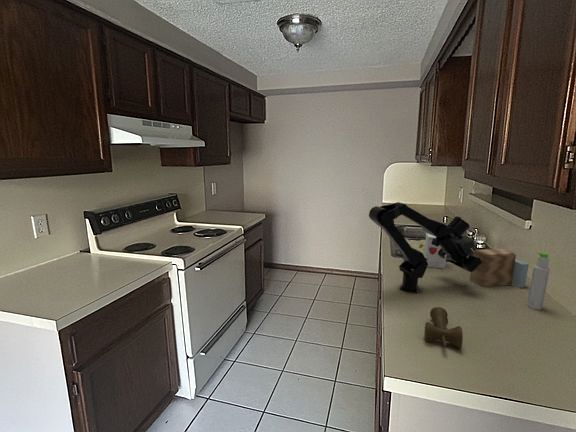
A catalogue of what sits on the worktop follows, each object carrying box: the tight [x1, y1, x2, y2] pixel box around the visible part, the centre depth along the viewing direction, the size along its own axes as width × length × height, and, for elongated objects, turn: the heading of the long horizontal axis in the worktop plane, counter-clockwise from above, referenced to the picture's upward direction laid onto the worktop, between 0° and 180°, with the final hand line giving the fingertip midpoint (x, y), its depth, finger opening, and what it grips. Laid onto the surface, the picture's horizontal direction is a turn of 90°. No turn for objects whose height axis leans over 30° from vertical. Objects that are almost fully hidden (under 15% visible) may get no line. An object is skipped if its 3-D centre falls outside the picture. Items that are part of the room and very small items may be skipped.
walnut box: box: [469, 248, 517, 288], centre depth 133 cm, size 14×7×14 cm, turn 102°
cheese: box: [405, 237, 425, 255], centre depth 166 cm, size 15×7×15 cm
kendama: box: [423, 306, 464, 350], centre depth 94 cm, size 6×10×20 cm
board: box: [510, 258, 529, 289], centre depth 136 cm, size 3×14×10 cm, turn 12°
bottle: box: [526, 252, 550, 311], centre depth 112 cm, size 4×4×20 cm
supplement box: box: [424, 232, 448, 269], centre depth 153 cm, size 9×9×15 cm
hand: (468, 270), depth 131 cm, fingers closed
